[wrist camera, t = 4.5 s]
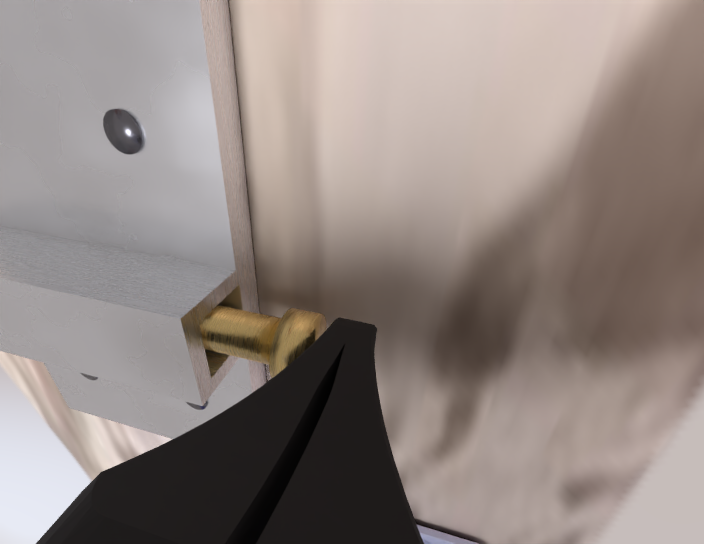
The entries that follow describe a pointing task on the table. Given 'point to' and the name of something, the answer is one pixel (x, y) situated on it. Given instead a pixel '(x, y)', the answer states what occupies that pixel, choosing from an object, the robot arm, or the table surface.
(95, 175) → the steel hinge
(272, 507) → the robot arm
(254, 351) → the brass headed pin
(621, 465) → the table surface
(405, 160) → the table surface
